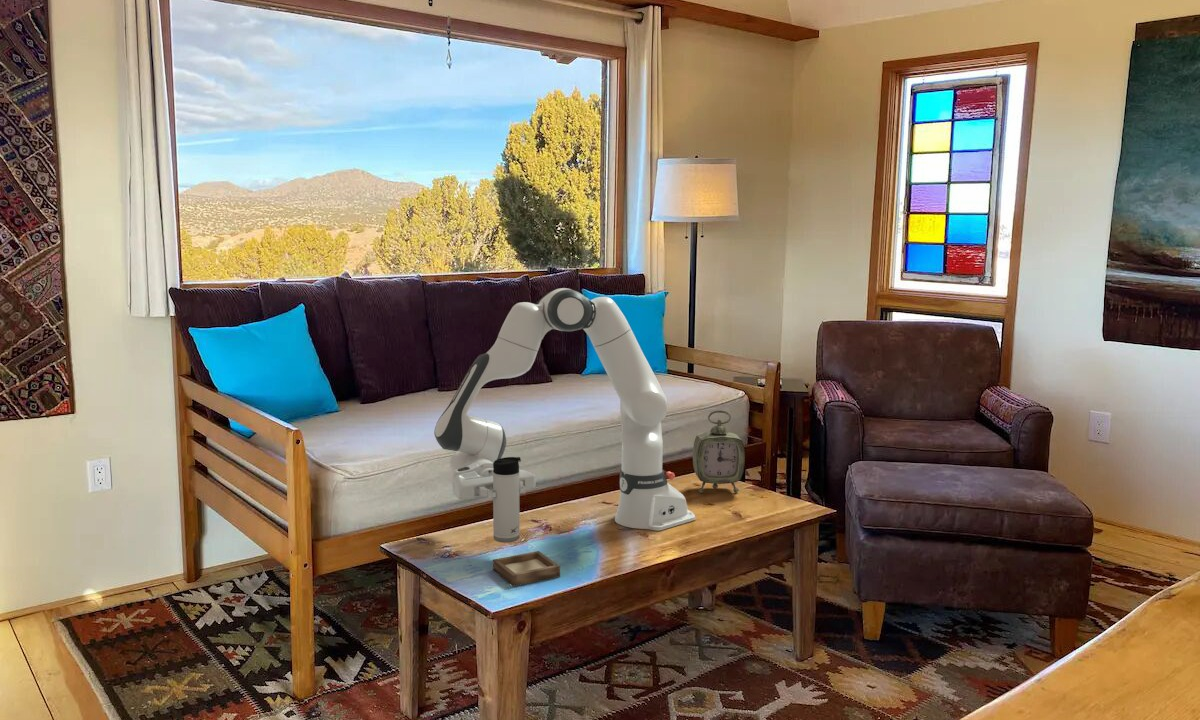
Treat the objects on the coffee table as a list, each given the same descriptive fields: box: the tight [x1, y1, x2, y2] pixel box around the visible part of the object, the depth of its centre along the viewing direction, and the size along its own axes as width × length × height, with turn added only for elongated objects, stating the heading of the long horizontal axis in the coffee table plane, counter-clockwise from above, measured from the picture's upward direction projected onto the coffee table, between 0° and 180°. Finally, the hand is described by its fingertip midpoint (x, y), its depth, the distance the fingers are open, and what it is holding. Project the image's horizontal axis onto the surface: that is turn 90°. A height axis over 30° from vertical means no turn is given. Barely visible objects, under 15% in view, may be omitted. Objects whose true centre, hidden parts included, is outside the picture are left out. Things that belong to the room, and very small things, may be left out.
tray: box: [492, 550, 561, 587], centre depth 216 cm, size 12×11×3 cm
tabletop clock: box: [692, 410, 746, 494], centre depth 281 cm, size 14×9×25 cm, turn 95°
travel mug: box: [492, 456, 522, 544], centre depth 223 cm, size 6×7×20 cm
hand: (508, 492), depth 222 cm, fingers closed on travel mug, 6 cm apart
